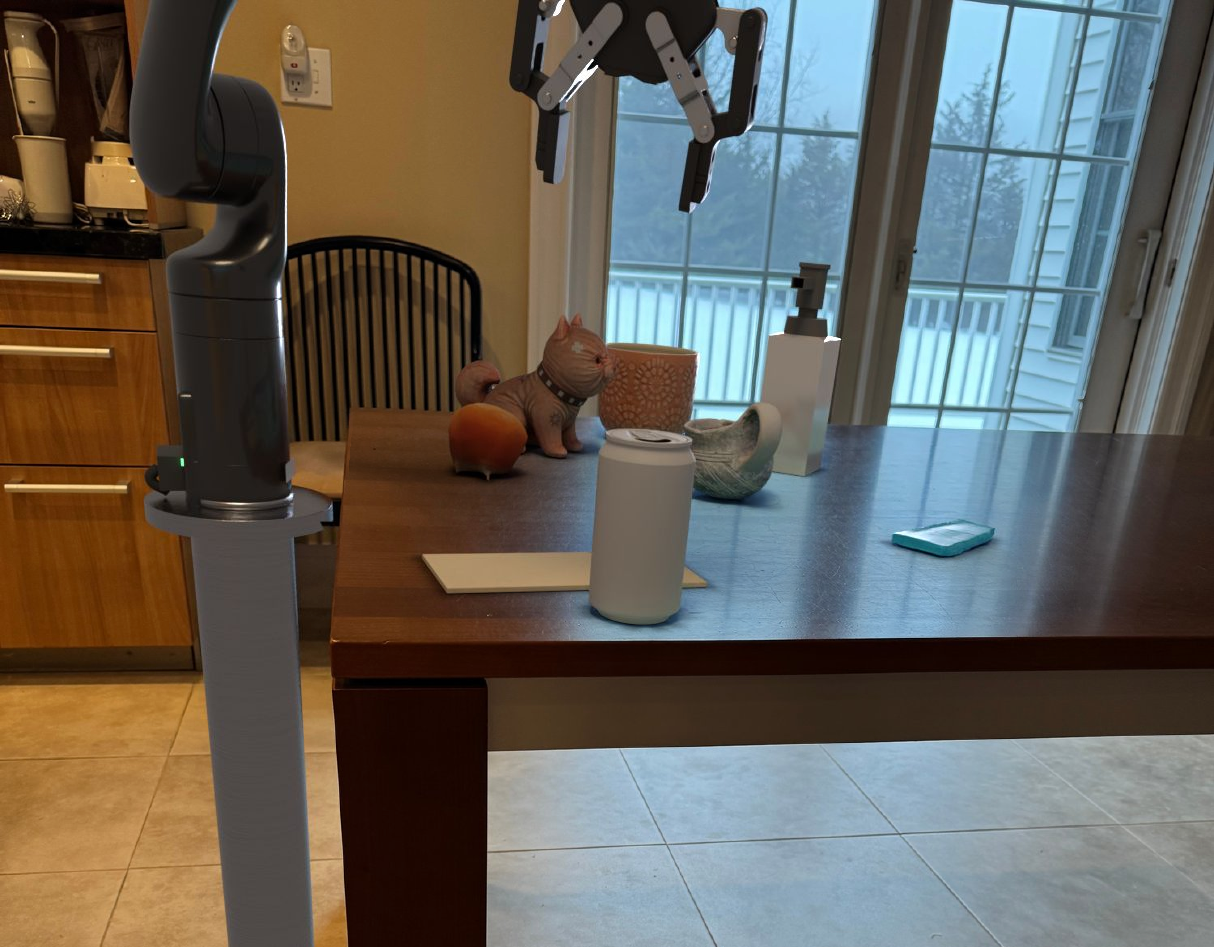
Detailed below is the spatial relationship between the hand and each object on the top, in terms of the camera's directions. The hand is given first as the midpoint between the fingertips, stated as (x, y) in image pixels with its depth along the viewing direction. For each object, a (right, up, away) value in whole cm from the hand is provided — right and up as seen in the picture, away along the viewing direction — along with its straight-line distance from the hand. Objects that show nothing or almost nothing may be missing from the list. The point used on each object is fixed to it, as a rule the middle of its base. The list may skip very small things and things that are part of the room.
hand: (618, 195), depth 69 cm
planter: (+4, +10, +76) cm, 77 cm away
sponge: (+31, -13, +36) cm, 50 cm away
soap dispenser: (+20, +3, +65) cm, 68 cm away
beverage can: (+1, -24, +10) cm, 26 cm away
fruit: (-13, -3, +49) cm, 51 cm away
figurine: (-10, +5, +64) cm, 65 cm away
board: (-4, -19, +17) cm, 26 cm away
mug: (+12, -6, +47) cm, 49 cm away
